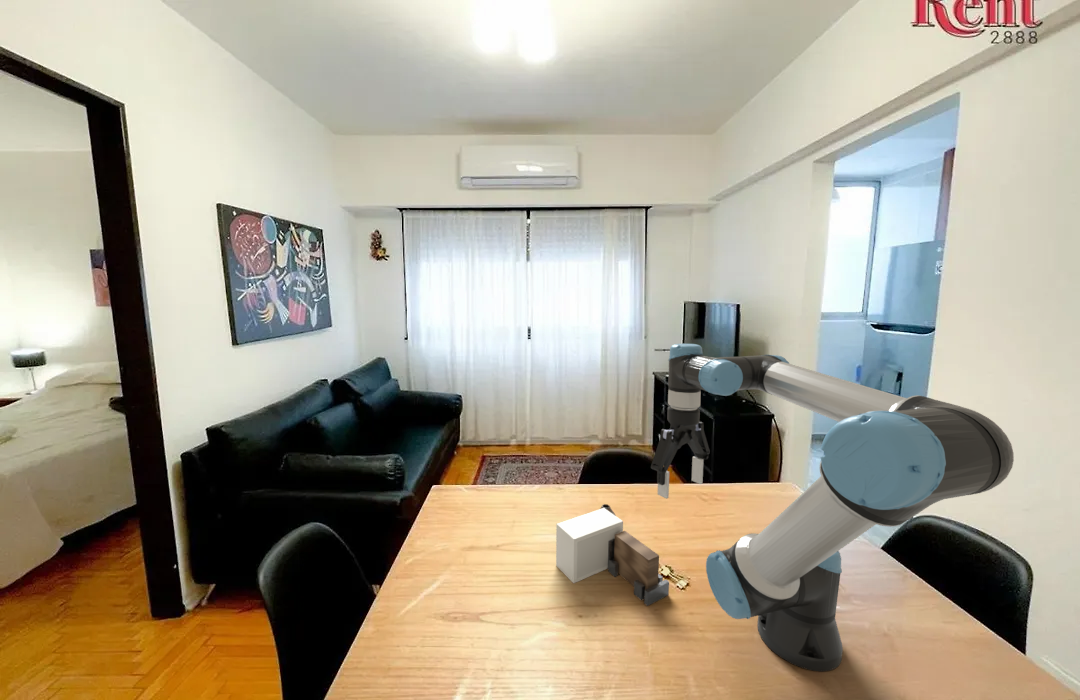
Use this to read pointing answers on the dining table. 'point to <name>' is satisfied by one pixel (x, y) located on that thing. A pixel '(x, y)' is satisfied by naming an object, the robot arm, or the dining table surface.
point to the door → (635, 560)
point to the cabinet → (585, 543)
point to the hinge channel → (639, 589)
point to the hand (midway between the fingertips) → (680, 489)
